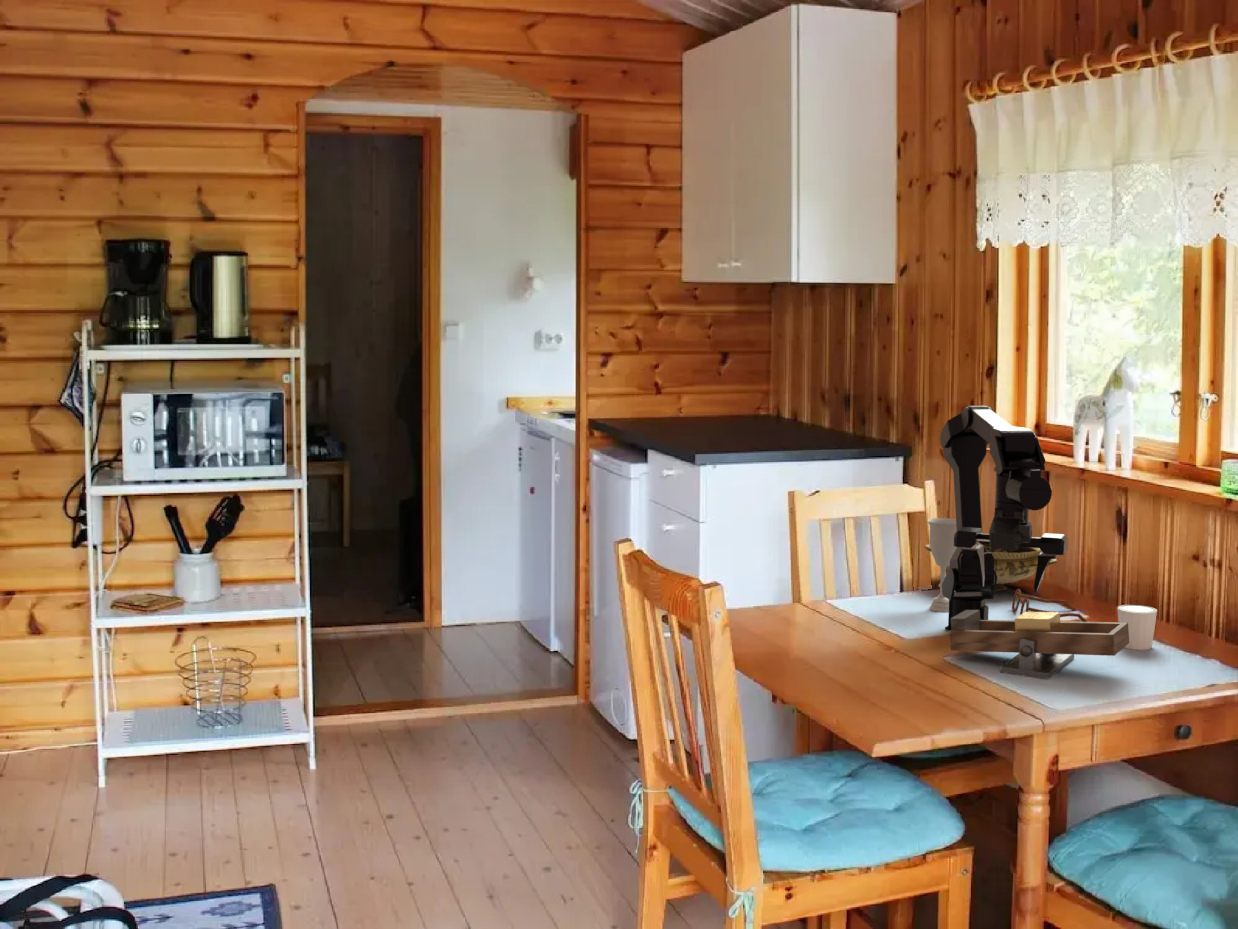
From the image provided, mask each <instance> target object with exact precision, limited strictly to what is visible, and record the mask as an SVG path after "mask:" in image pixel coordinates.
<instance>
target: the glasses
mask: <svg viewBox="0 0 1238 929" xmlns="http://www.w3.org/2000/svg"><path fill="white" fill-rule="evenodd" d="M1016 599H1017V602H1016ZM1029 600H1031V601H1036V602H1040V603H1044V604H1049V603H1050V604H1051V603H1058V604H1064V605H1065V606H1066V607H1068V609H1070V610H1071V611H1073V610H1077V611H1078V609H1076V607H1074V606H1073V605H1071V603H1069V602H1067V600H1065V599H1046V598H1041V597H1040V598H1039V597H1035V596H1031V595H1026V594H1022V591H1021V589H1020V588H1017V589H1016V590H1015V592H1014V595H1013V598H1012V603H1011V610H1012V612H1013V613H1017V611H1018V610H1019V606H1020V605H1021V608H1020V612H1019V615H1021V614H1023V613H1024V612H1049V611H1047V610H1042V609H1039V608H1034V607H1030V601H1029ZM1015 605H1016V606H1015ZM1025 605H1026V606H1025ZM1024 608H1025V611H1024ZM1064 617H1076V618H1078V619H1079V620H1081V622H1089V621H1088V620H1087V619H1085V618H1084V617H1083V616H1082V614H1080V613H1074V612H1066V613H1060V618H1064Z"/></svg>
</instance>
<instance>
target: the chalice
mask: <svg viewBox="0 0 1238 929" xmlns="http://www.w3.org/2000/svg"><path fill="white" fill-rule="evenodd" d="M927 523H928V525H929V539H928V540H929V541H928V542H929V543H928V545H930V548H931V552H930V553H931V554H932V557H933V560H934V561H935V564H936V565H937V566H938V567H940V574H939V578H940V582H939V584H938V587H939V590H940V592H939V594H938V595H937V596H935V597H934V598H933V599H932V602H931V603H930V604H931V605H930V606H929V610H931V611H934V612H940V613H949V599H947V598H946V597H944V596H943V594H942V583H943V581H944V579H945V577H946V575H947V572H946V571H945V570H946V567H947V566H950V559H951V557H952V556H953V554H954V552H955V550H956V548H957V547H955V546H954V535H955V533H956V532H957V527H956V518H949V517H948V518H947V517H934V518H929V519H927Z"/></svg>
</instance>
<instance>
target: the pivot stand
mask: <svg viewBox="0 0 1238 929" xmlns="http://www.w3.org/2000/svg"><path fill="white" fill-rule="evenodd" d="M1074 659H1075V654H1044V653H1036V640H1033V639H1026V638H1022V639H1020V648H1019V653H1017V654H1016V655H1015V656H1013V657H1012V658H1010V659H1009V660H1007V661H1006V662H1004V663H1003V664H1002V665H1000V668H999V670H1000V673H1003V674H1008V675H1009V674H1010V675H1016V676H1018V675H1019V676H1022V675H1024V677H1029V678H1031V677H1032V678H1038V679H1043V680H1049V679H1050V678H1051V677H1052V676H1053V675H1055V674H1056V673H1057V672H1058V671H1060V670H1061V669H1062V668H1064V667H1065V666H1066V665H1067V664H1069V663H1070V662H1072V660H1074Z"/></svg>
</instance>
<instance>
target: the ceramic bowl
mask: <svg viewBox="0 0 1238 929" xmlns="http://www.w3.org/2000/svg"><path fill="white" fill-rule="evenodd" d="M983 545H984V547H985V548H986V550H987V551H988V553H992V555H993V557H994V569H995V571H996V575H997V583H996V588H995V592H999V591H1000V592H1001V591H1006V590H1007V589H1008V587H1007V586H1006V585H1005V584H1009V583H1014V582H1015V583H1016V582H1018V581H1021V580H1025V579H1026V578H1029V577H1031V576H1033V575H1034V574H1036V570H1037V563H1038V555H1039V554H1040V553H1041V552H1042V551H1041V550H1040V548H1031V547H1019V548H1018V549H1017V550H1014V551H1010V550H1008V549H992V548H990V544H983ZM924 549H925V550H927V552H930V553H932V552H931V548H930V545H929V544H925V545H924ZM1057 562H1058V559H1057V558H1056V559H1051V560H1050V562H1049V564H1048V566H1047V567H1051V566H1053V565H1056V564H1057ZM949 569H950V566H947V567H946V570H945V572H946V573H948V571H949Z"/></svg>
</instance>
